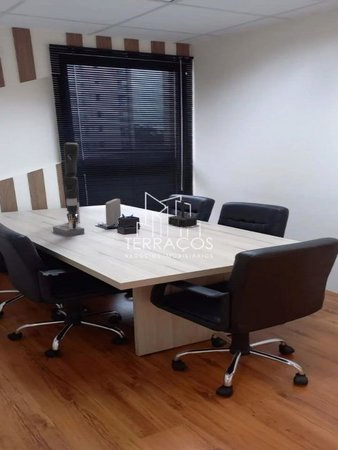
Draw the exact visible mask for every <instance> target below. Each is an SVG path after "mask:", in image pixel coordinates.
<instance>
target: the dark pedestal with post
mask: <svg viewBox="0 0 338 450" xmlns="http://www.w3.org/2000/svg"><path fill="white" fill-rule="evenodd" d="M185 203H186V200H184V199H181V200H180V205H181V206H180V208H181V209H180V211H181V212H180V213H181V214H178V215H172V216H168V217H167V219H168V225H171V226H176V227H182V228H188V227H193V226H197V224H198V217H195V216H189V215H185Z"/></svg>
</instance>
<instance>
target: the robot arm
mask: <svg viewBox="0 0 338 450" xmlns="http://www.w3.org/2000/svg"><path fill="white" fill-rule="evenodd" d="M79 151H80V147H79V144H78V143H77V142H64V144H63V155H64V177H63V180H62V184H63V186H64V191H65V195H66V201H65V202H66V212H67V213H66V216H67V220H68V222H69V221H70V220H72V222H73V228H76V222H77V224H79V223H81V216H80V215H81V213H80V198H79V196H80V195H79V192H80V191H79V188H80V187H79V179H78V177H77V176H76V175H77V173H78V171H77V170H78V169H77V168H78V167H77V165H78V159H79ZM70 156H72V158H71V157H70Z"/></svg>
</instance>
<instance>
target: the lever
mask: <svg viewBox="0 0 338 450" xmlns="http://www.w3.org/2000/svg"><path fill="white" fill-rule="evenodd" d="M68 224H69V229H76V228H77V226H78V223H77V222H76V228H73V222H72V220H70V221H68Z"/></svg>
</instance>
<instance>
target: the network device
mask: <svg viewBox="0 0 338 450" xmlns="http://www.w3.org/2000/svg"><path fill="white" fill-rule="evenodd" d="M121 207H122V206H121V198H114V199H112V200H109V201H107V202H105V223H106V225H108V226H114V225H113V224H118V223H117V222H119V221H118V217H120V216H121V217H122V213H121V211H122V210H121ZM106 225H105V226H106Z"/></svg>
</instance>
